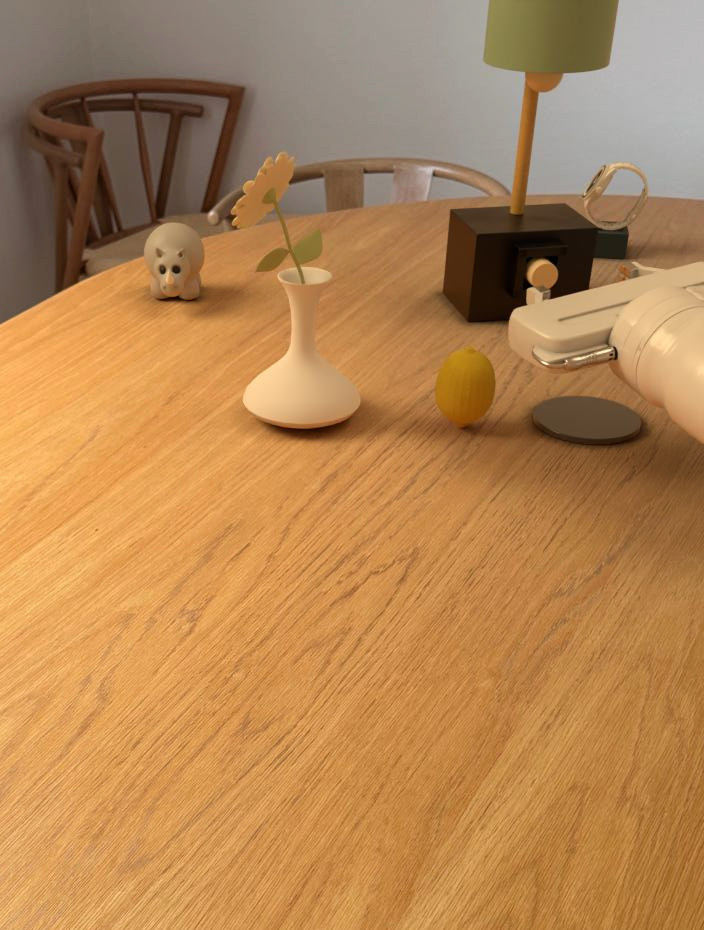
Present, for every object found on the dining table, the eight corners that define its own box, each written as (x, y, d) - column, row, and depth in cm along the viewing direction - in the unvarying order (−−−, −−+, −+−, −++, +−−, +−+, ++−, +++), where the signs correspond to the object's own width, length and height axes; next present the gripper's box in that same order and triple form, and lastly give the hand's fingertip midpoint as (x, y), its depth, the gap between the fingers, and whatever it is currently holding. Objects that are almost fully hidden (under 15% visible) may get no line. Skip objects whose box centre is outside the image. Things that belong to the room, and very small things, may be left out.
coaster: (630, 402, 124) (631, 397, 124) (648, 446, 116) (649, 440, 116) (527, 399, 125) (528, 394, 125) (538, 443, 117) (539, 437, 117)
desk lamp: (593, 322, 143) (646, -6, 124) (474, 330, 141) (510, -2, 122) (552, 285, 153) (595, -23, 135) (441, 292, 152) (469, -19, 133)
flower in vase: (313, 383, 129) (321, 126, 115) (383, 421, 121) (401, 150, 107) (206, 412, 123) (201, 146, 109) (273, 455, 115) (276, 173, 101)
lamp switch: (556, 289, 139) (560, 262, 137) (530, 291, 138) (533, 264, 137) (548, 282, 141) (551, 255, 139) (522, 283, 140) (525, 257, 139)
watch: (573, 243, 167) (586, 157, 161) (636, 246, 166) (651, 160, 160) (574, 256, 163) (587, 168, 156) (639, 259, 161) (654, 171, 155)
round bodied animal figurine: (137, 318, 145) (133, 245, 140) (149, 284, 155) (146, 214, 150) (199, 319, 145) (198, 245, 140) (207, 285, 155) (206, 215, 150)
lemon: (496, 438, 118) (507, 357, 113) (438, 440, 118) (446, 359, 113) (482, 414, 122) (491, 335, 118) (426, 416, 122) (433, 337, 118)
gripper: (549, 406, 106) (476, 339, 116) (763, 349, 109) (672, 289, 120) (554, 337, 102) (477, 275, 112) (775, 280, 105) (680, 225, 116)
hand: (579, 282), depth 116 cm, fingers open, 8 cm apart
